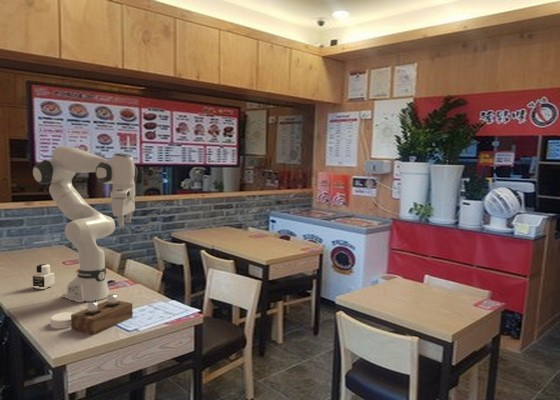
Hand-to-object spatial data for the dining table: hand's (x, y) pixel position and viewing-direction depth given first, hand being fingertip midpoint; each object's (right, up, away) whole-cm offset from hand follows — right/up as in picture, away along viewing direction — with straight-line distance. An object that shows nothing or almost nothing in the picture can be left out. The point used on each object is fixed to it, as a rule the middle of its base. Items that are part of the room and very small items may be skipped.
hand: (125, 224), depth 176 cm
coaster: (-21, -40, -9) cm, 46 cm away
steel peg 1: (-8, -35, -13) cm, 38 cm away
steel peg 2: (-4, -34, -4) cm, 35 cm away
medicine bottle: (-56, -35, +38) cm, 77 cm away
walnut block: (-6, -40, -8) cm, 41 cm away
